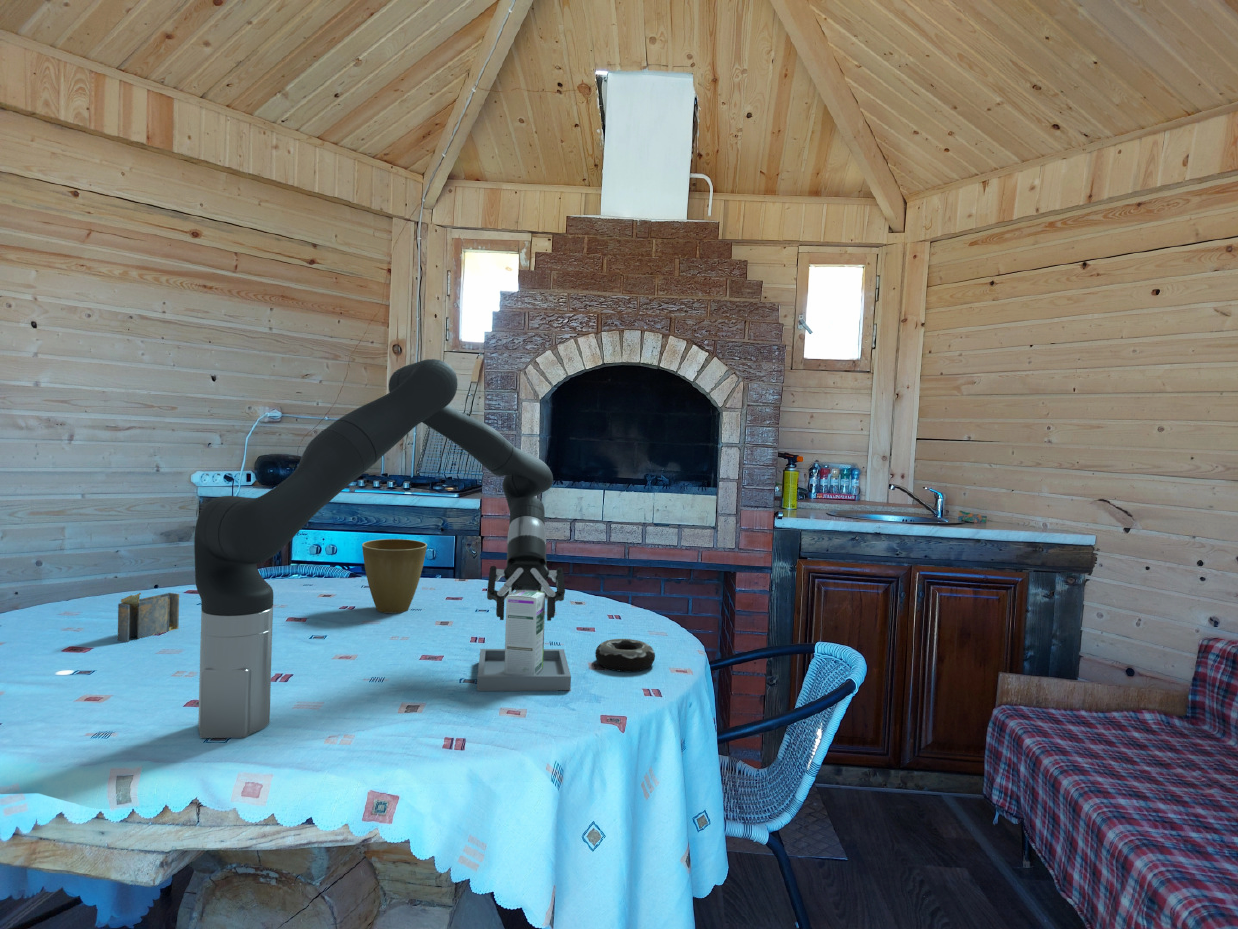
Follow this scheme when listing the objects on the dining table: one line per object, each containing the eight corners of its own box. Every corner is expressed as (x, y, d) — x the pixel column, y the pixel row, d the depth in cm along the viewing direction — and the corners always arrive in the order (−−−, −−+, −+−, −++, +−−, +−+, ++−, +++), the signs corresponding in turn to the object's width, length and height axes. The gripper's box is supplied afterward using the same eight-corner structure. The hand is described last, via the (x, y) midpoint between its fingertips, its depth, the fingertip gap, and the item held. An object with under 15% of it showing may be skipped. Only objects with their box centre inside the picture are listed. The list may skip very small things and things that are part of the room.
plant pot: (348, 607, 179) (351, 541, 178) (405, 599, 189) (407, 537, 188) (377, 620, 168) (380, 550, 167) (436, 612, 179) (438, 545, 178)
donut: (640, 654, 153) (641, 635, 153) (664, 672, 142) (665, 651, 142) (587, 657, 149) (588, 637, 149) (606, 676, 138) (608, 655, 138)
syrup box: (534, 678, 132) (538, 597, 132) (502, 674, 133) (506, 594, 133) (543, 668, 138) (546, 591, 137) (512, 665, 139) (516, 588, 138)
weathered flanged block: (129, 644, 144) (130, 595, 143) (117, 642, 145) (118, 593, 144) (180, 630, 155) (181, 584, 154) (168, 629, 156) (170, 582, 155)
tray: (570, 690, 129) (570, 676, 129) (476, 691, 127) (477, 676, 127) (563, 661, 145) (563, 649, 145) (479, 661, 143) (480, 648, 142)
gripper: (490, 532, 141) (486, 606, 130) (564, 534, 143) (567, 607, 133) (489, 555, 147) (485, 628, 136) (561, 557, 149) (563, 629, 138)
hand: (525, 618), depth 134 cm, fingers open, 8 cm apart
